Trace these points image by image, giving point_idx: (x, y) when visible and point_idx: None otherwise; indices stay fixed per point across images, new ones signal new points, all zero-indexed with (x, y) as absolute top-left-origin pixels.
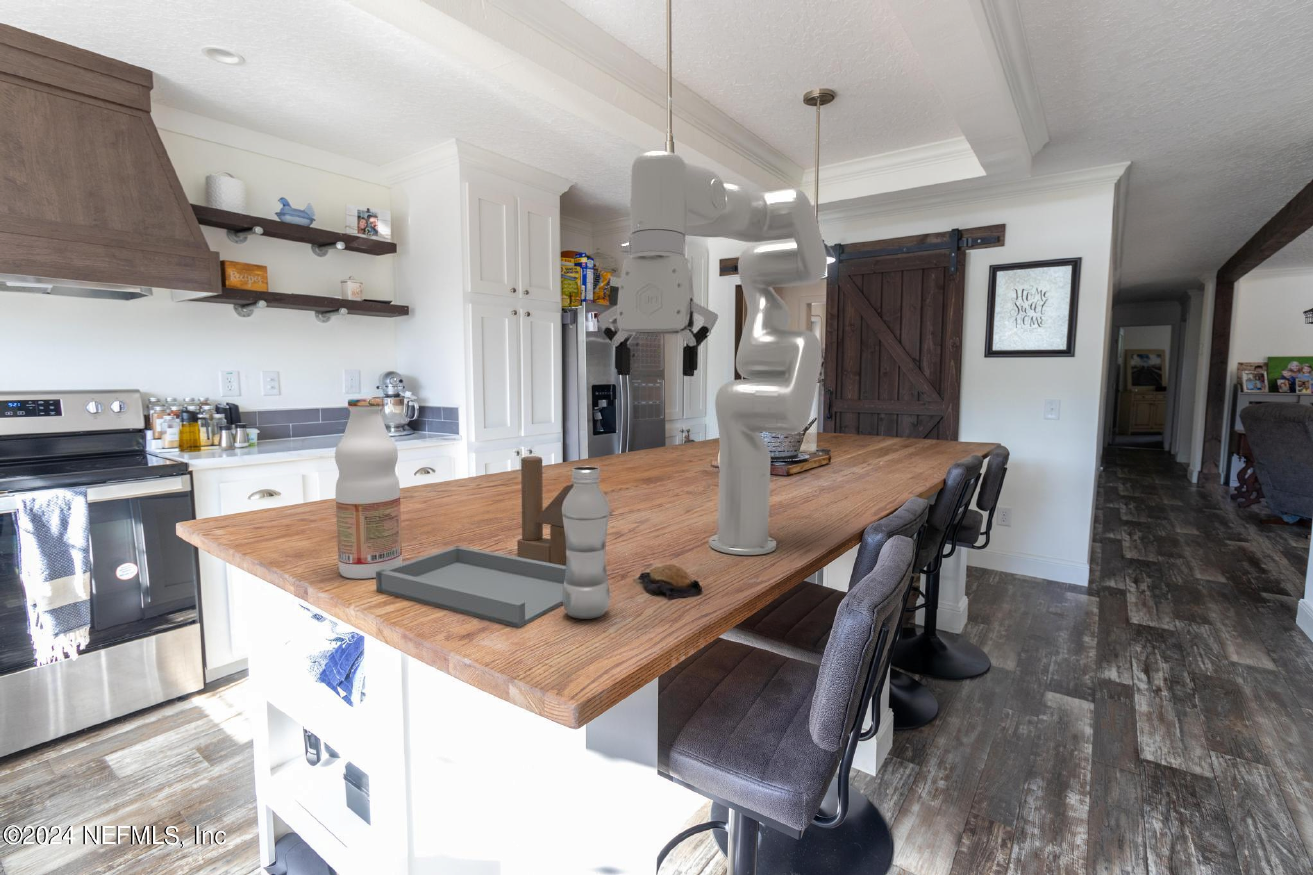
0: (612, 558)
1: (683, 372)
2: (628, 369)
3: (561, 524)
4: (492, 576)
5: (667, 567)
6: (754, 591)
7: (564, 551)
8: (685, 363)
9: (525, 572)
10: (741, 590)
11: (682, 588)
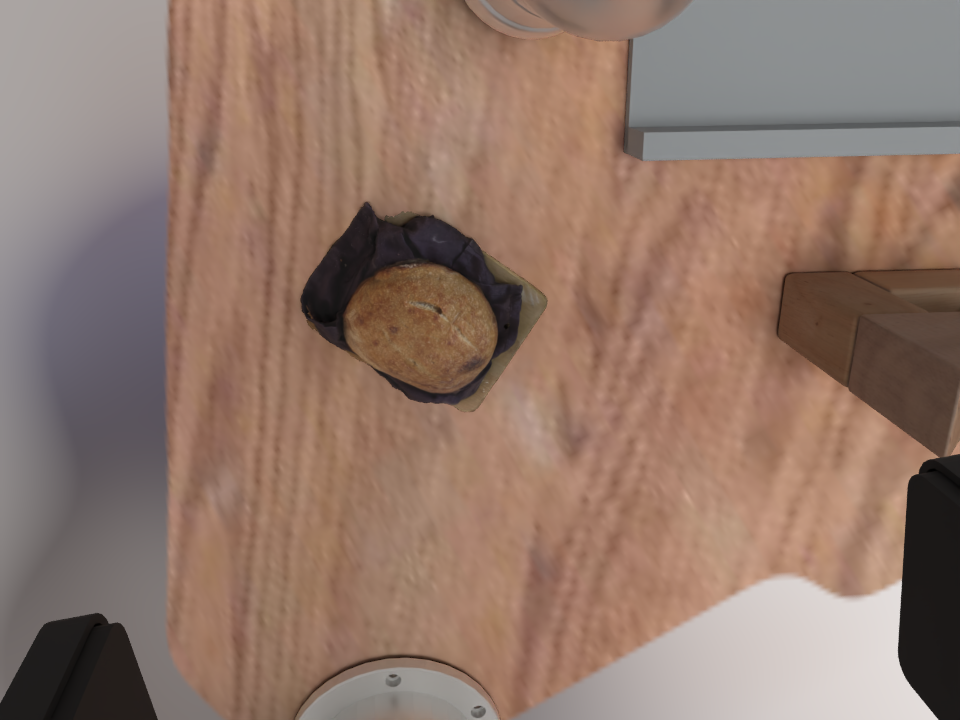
0: (707, 439)
1: (95, 632)
2: (936, 671)
3: (885, 314)
4: (956, 62)
5: (431, 327)
6: (176, 406)
7: (821, 287)
8: (21, 716)
9: (867, 124)
10: (214, 394)
11: (356, 281)
